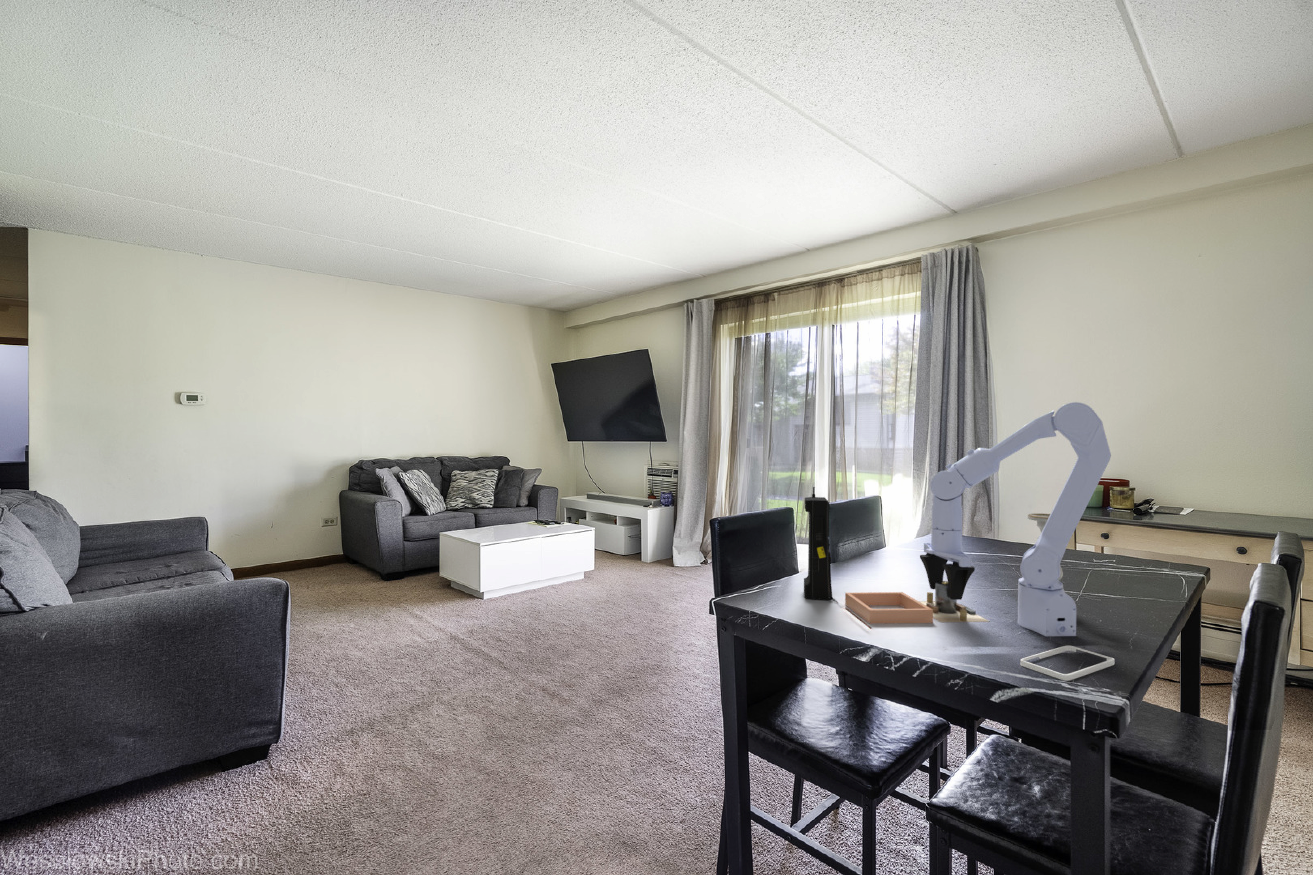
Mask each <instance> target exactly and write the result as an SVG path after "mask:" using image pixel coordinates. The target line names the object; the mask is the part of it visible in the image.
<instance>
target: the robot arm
mask: <svg viewBox="0 0 1313 875" xmlns="http://www.w3.org/2000/svg"><path fill="white" fill-rule="evenodd" d="M1054 413H1055V414H1054ZM1053 415H1054V416H1053ZM1056 431H1058V433H1059V434H1061V435H1062V436H1063V437H1064V438H1065V439H1066V440H1068V441H1069V443H1070V445H1071V447H1072V449H1073V450H1074V452H1075V453H1076V455H1077V459H1076V461H1075V463H1074V465H1073V467H1072V469H1071V471H1070V473H1069V475H1068V478H1067V480H1066V482H1065V484H1064V485H1063V488H1062V489H1061V492H1060V494H1059V496H1058V498H1057V500H1056V501H1055V503H1054V506H1053V507H1052V511H1051V512H1050V513H1049V514H1050V516H1049V518H1048V520H1047V522H1046V524H1045V526H1044V528H1043V530H1042V532H1041V531H1040V534H1039V536H1038V537H1039V538H1038V537H1037V540H1036V541H1035V543H1034V545H1033V546H1031V547H1030V548H1029V549H1027V550H1026V551H1025V552H1024V553H1023V556H1022V558H1021V560H1022V561H1021V563H1020V565H1019V567H1020V568H1019V571H1020V574H1021V576H1022V577H1020V578H1018V583H1017V584H1018V586H1017V624H1018V625H1019V626H1020V627H1022V628H1024V629H1028V630H1031V631H1033V632H1035V633H1038V634H1040V635H1042V636H1044V637H1077V605H1076V604H1077V603H1076V602H1075V600H1074V598H1073V597H1071V596H1070V595H1068V594H1067V592H1066V591H1065V589H1064V584H1063V582H1061V580H1059V578H1060V566H1061V561H1062V559H1063V557H1064V555H1065V552H1066V550H1067V546H1068V544H1069V543H1070V540H1071V538H1072V536H1073V534H1074V532H1075V531H1076V528H1077V526H1078V525H1079V523H1080V521H1081V518H1082V516H1083V514H1084V512H1085V510H1086V508H1087V506H1088V505H1089V503H1090V501H1091V498H1092V497H1093V494H1094V492H1095V491H1096V489H1097V487H1098V485H1099V483H1100V480H1101V479H1102V476H1103V474H1104V472H1105V471H1106V468H1107V467H1108V464H1109V462H1110V461H1111V458H1112V453H1111V450H1110V446H1109V442H1108V438H1107V435H1106V432H1105V428H1104V423H1103V421H1102V419H1101V418H1100V417H1099V415H1098V414H1097V412H1096V411H1095V410H1094V409H1093V408H1092V407H1091V406H1090V405H1088V404H1086V403H1083V402H1080V401H1079V402H1077V401H1073V402H1069V403H1066V404H1063V405H1062V406H1060V407H1059V408H1058V409H1057V410H1056V412H1055V410H1052V411H1050V412H1047V413H1044V414H1043V415H1041V416H1039V417H1037V418H1035V419H1033V420H1031V421H1030V422H1028V423H1026V424H1025V425H1023V426H1022V427H1021V428H1019V429H1017V431H1015V432H1013V433H1012V434H1010V435H1009V436H1008V437H1006V438H1004V439H1003V440H1001V441H999V442H998V443H997V444H995V445H994V446H992V447H991V448H985V447H978V448H976V449H974V448H971V449H969V450H967V451H966V455H965V456H964V457H962V458H961V459H959V460H958V461H956V462H955V463H953V464H952V463H948V464H947V465H946V466H945V468H946V469H947V470H941V471H938V472H937V473H936V474H935V475H934V476H933V477H932V479H931V481H930V491H931V492H932V494H933V495H932V506H931V542H930V543H929V542H927V543H926V542H925V543H923V552H924V553H925V554H920V555H919V559H920V560H921V562H922V564H923V567H924V569H925V573H926V575H927V576H926V577H927V580H928V584H929V585H928V586H929V588H930V590H935V583H936V582H942V581H944V574H945V575H946V579H947V580H946V581H948V589H949V596H950V599H952V600H958V601H959V600H962V598H963V596H964V593H965V589H966V586H967V583H968V581H969V580H970V578H971V576H972V574H973V573H974V572H975V571H976V568H975V566H973V565H972V557H971V556H969V555H968V554H967V553H965V552H964V551H963V509H964V508H963V506H962V505H963V504H962V500H963V499H962V497H963V496H962V494H963V493H964V492H965V490H966V489H967V488H968V489H970V488H973V487H975V486H976V485H978V484H979V483H982V482H983V481H985V480H986V479H987V478H990V477H991V476H992V475H994V474H996V473H997V472H999V470H1000V466H1001V461H1003V460H1005V459H1007V458H1008V457H1010V456H1012V455H1013V454H1015V453H1017V452H1018V451H1020V450H1022V449H1024V448H1026V447H1027V446H1029V445H1031V444H1032V443H1034V442H1036V441H1038V440H1040V439H1047V438H1054V437H1055V438H1056V437H1057V433H1056ZM948 562H952V563H948Z"/></svg>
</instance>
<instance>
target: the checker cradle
mask: <svg viewBox="0 0 1313 875" xmlns="http://www.w3.org/2000/svg"><path fill="white" fill-rule="evenodd" d="M918 601H919V600H918ZM919 602H920V603H922V604H924V605H926V606H927V607H929V608H931V609H933V620H936V621H938V622H940V623H979V622H980V623H982V622H983V623H984V622H985V623H988V622H990V620H988V619H986V618H984V617H983V616H980V615H978V614H976V610H974V609H972V608H970V607H968V606H966V605H964V604H962V603H959V602H957V612H956V613H955V614H946V613H941V612H938V607H936V606H935V600H934V593H933V592H927V593H926V600H922V601H921V600H920V601H919Z"/></svg>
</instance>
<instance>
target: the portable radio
mask: <svg viewBox="0 0 1313 875" xmlns="http://www.w3.org/2000/svg"><path fill="white" fill-rule="evenodd" d="M815 488H816V487H815V486H812V494H811V496H809V497H804V511H805V512H806V513H808V552H807V553H808V558H807V560H808V563H807V564H808V565H807V567H808V569H807V576H806V577H804V578H803V594H804V598H805V599H809V600H821V601H822V600H824V601H830V600H831V598H833V591H832V590H833V589H832V571H831V570H832V569H831V564H832V556H831V552H830V539H829V537H830V501H829V500H828V499H827V498H826V497H825V496H824V497H821V496H816V493H815Z"/></svg>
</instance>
